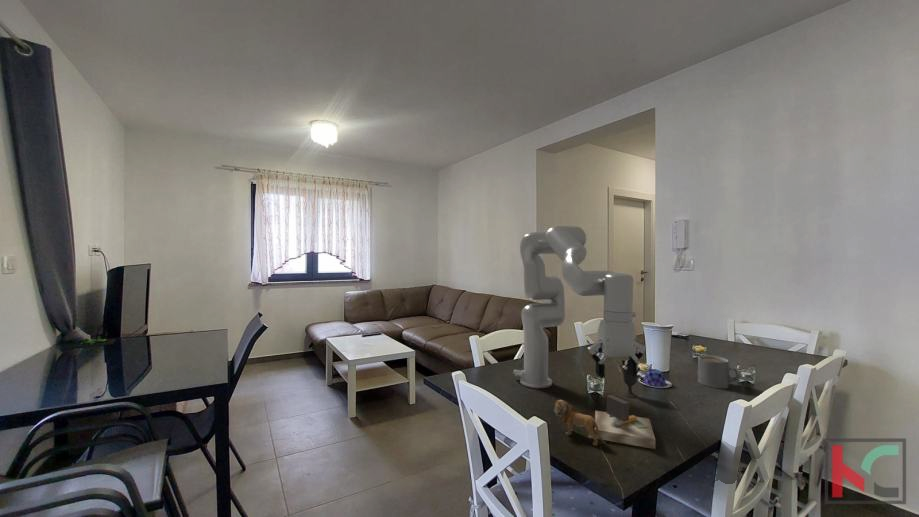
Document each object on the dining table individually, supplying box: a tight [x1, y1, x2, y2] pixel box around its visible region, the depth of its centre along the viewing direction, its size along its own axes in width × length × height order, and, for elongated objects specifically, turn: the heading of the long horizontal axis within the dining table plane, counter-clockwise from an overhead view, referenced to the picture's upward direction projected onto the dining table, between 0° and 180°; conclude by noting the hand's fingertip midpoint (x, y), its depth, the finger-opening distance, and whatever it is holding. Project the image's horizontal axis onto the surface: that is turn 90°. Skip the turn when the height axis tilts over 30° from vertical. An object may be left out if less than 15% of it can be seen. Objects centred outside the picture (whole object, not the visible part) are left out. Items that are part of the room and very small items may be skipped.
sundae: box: [619, 359, 641, 399], centre depth 131 cm, size 7×7×15 cm
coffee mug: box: [697, 354, 741, 389], centre depth 141 cm, size 13×10×10 cm
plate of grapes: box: [637, 368, 673, 389], centre depth 143 cm, size 12×12×5 cm
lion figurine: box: [553, 399, 607, 447], centre depth 102 cm, size 15×5×9 cm, turn 52°
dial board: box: [594, 410, 656, 450], centre depth 104 cm, size 15×13×3 cm
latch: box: [605, 394, 638, 426], centre depth 104 cm, size 8×6×7 cm
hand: (615, 375), depth 103 cm, fingers open, 9 cm apart
